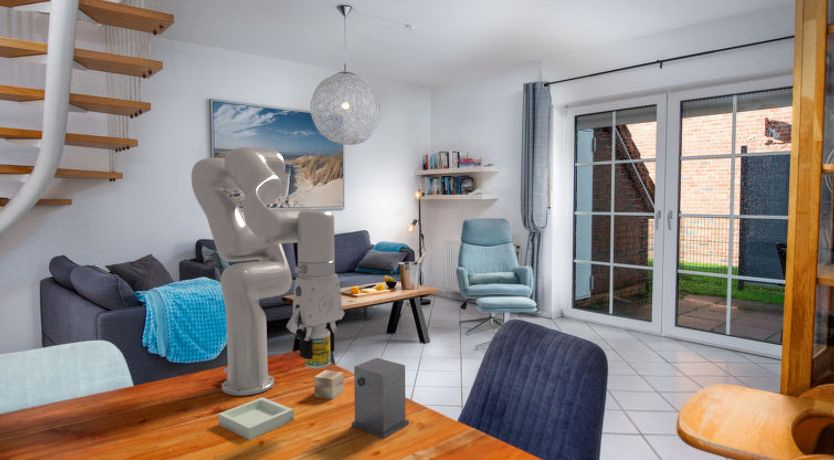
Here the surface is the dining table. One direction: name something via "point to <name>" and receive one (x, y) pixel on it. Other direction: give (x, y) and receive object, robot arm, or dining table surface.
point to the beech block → (328, 384)
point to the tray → (255, 418)
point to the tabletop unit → (379, 397)
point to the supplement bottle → (319, 348)
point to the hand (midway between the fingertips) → (317, 353)
